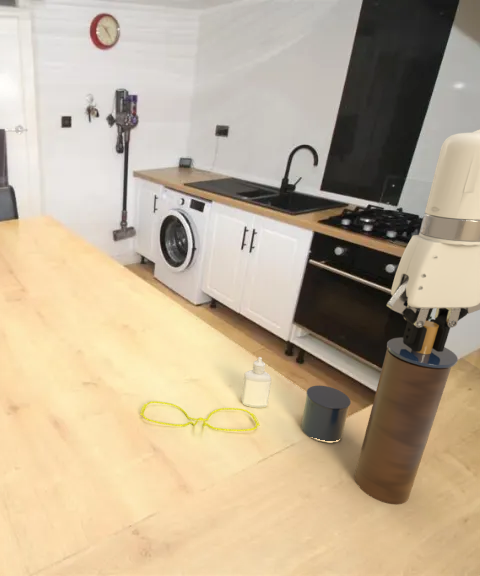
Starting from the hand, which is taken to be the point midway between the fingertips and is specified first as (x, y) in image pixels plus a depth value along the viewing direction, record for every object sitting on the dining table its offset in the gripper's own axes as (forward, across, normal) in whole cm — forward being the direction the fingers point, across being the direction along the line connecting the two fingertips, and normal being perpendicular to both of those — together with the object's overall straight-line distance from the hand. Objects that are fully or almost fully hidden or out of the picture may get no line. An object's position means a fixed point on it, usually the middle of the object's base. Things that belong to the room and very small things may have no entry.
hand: (422, 346), depth 62 cm
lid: (+1, 0, 0) cm, 1 cm away
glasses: (+27, +29, -16) cm, 43 cm away
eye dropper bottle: (+28, +15, -23) cm, 39 cm away
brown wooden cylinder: (+28, 0, 0) cm, 28 cm away
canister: (+28, +4, -14) cm, 31 cm away
